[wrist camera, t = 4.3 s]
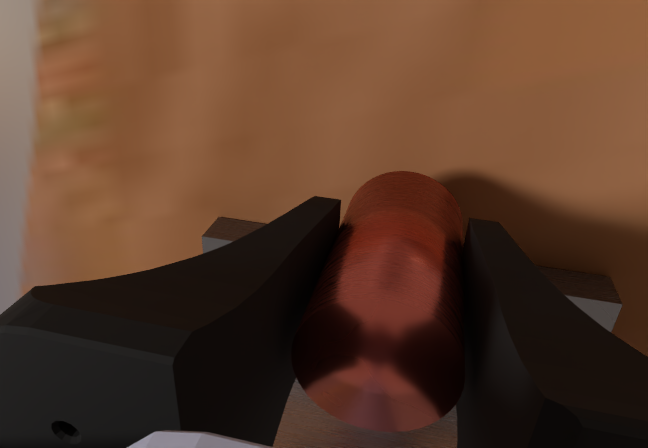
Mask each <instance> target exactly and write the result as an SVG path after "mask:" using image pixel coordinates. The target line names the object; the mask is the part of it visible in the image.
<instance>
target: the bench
mask: <svg viewBox="0 0 648 448" xmlns="http://www.w3.org/2000/svg"><path fill="white" fill-rule="evenodd" d="M265 225H267V224H262V223H255V222H249V221H242V220H236V219H229V218H223V217H218V218H217V220H216V221H215V222H214V223H213V224H212V225H211V226H210V228H209V229H208V230H207V231H206V232H205V233H204V234H203V236H202V244H203V254H204V253H206V252H209V251H212V250H214V249H217V248H219V247H222V246H224V245H226V244H229V243H231V242H233V241H235V240H238V239H239V238H241V237H243V236H245V235H247V234H249V233H251V232H253V231H255V230H257V229H259V228H261V227H263V226H265ZM536 267H537V268H538V269H539V270H540V271H541V272H542V273H543V274H544V275H545V276H546V278H547V279H548V280H549V281H550V282H551V283H553V284H554V285H555V286H556V287H557V288H558V289H559V290H560V291H561V292H562V293H563V294H564V295H565V296H566V297H567V298H568V299H569V300H571V301H572V302H573V303H574V304H575V305H576V306H577V307H579V308H580V309H581V310H582V311H584V312H585V313H586V314H587V315H589V316H590V317H591V318H592V319H594V320H595V321H596V322H597V323H599V324H600V325H601V326H603V327H604V328H605V329H607V330H608V331H609V332H611V331H612V329H613V327H614V324H615V322H616V319H617V317H618V314H619V312H620V310H621V307H622V305H623V304H622V302H621V300H620V298H619V295H618V293H617V291H616V289H615V287H614V284H613V282H612V280H611V278H610V277H606V276H599V275H593V274H586V273H580V272H573V271H567V270H560V269H554V268H547V267H541V266H536Z"/></svg>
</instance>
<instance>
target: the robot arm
mask: <svg viewBox="0 0 648 448" xmlns="http://www.w3.org/2000/svg"><path fill="white" fill-rule="evenodd" d="M340 207H341V200H338V199H331V198H324V197H317V196H314V197H312V198H310V199H309V200H307V201H305V202H304V203H302V204H300V205H299V206H297V207H295V208H294V209H292V210H290V211H289V212H287V213H285V214H284V215H282V216H280V217H279V218H277V219H275V220H274V221H272V222H270V223H268V224H267V225H265V226H263V227H261V228H259V229H257V230H255V231H253V232H251V233H249V234H247V235H245V236H243V237H241V238H239V239H238V240H235V241H233V242H231V243H229V244H226V245H224V246H222V247H219V248H217V249H214V250H212V251H209V252H206V253H204V254H201V255H198V256H195V257H192V258H189V259H186V260H182V261H179V262H175V263H172V264H168V265H165V266H161V267H158V268H154V269H150V270H146V271H141V272H136V273H132V274H127V275H121V276H116V277H110V278H104V279H98V280H91V281H82V282H73V283H65V284H56V285H47V286H35V287H34V288H32V289H31V290H30V291H29V292H28V293H26V294H25V295H24V296H23V297H21V298H20V299H19V300H18V301H17V302H15V303H14V304H13V305H12V306H11V307H9V308H8V309H7V310H6V311H4V312H3V313H2V314H1V315H0V448H274V447H273V444H274V441H275V437H276V434H277V431H278V428H279V425H280V421H281V418H282V415H283V412H284V409H285V406H286V402H287V400H288V397H289V394H290V392H291V389H292V387H293V384H294V382H295V379H296V376H295V373H294V371H293V366H292V361H291V349H292V343H293V340H294V337H295V334H296V332H297V329H298V327H299V325H300V322H301V320H302V317H303V315H304V313H305V310H306V308H307V305H308V303H309V300H310V298H311V296H312V293H313V291H314V288H315V286H316V284H317V281H318V279H319V276H320V274H321V272H322V269H323V267H324V264H325V262H326V259H327V257H328V255H329V252H330V250H331V247H332V245H333V243H334V240H335V238H336V235H337V233H338V231H339V222H340ZM463 284H464V349H465V382H464V388H463V391H462V394H461V397H460V398H459V400H458V402H457V404H456V412H457V448H648V357H647V356H645V355H644V354H642V353H641V352H639V351H638V350H636V349H634V348H633V347H631V346H630V345H628V344H627V343H625V342H624V341H622V340H621V339H619V338H618V337H616V336H615V335H614V334H612V333H611V332H609V331H608V330H607V329H605V328H604V327H603V326H601V325H600V324H599V323H597V322H596V321H595V320H594V319H592V318H591V317H590V316H589V315H587V314H586V313H585V312H584V311H582V310H581V309H580V308H579V307H577V306H576V305H575V304H574V303H573V302H572V301H571V300H569V299H568V298H567V297H566V296H565V295H564V294H563V293H562V292H561V291H560V290H559V289H558V288H557V287H556V286H555V285H554V284H553V283H551V282H550V281H549V280H548V279H547V278H546V276H545V275H544V274H543V273H542V272H541V271H540V270H539V269H538V268H537V267H536V266H535V265H534V264H533V263H532V261H531V260H530V259H529V258H528V257H527V256H526V255H525V253H524V252H523V251H522V250H521V249H520V248H519V246H518V245H517V244H516V243H515V241H514V240H513V239H512V238H511V237H510V235H509V234H508V233H507V232H506V230H505V229H504V228H503V227H502V226H501V224H500V223H499V222H493V221H486V220H479V219H472V218H469V223H468V227H467V232H466V237H465V242H464V247H463Z"/></svg>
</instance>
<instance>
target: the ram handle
mask: <svg viewBox="0 0 648 448" xmlns="http://www.w3.org/2000/svg"><path fill="white" fill-rule="evenodd" d="M291 361H292V366H293V371H294V373H295V376H296V379H295V382H294V384H293V387H292V389H291V392H290V394H289V397H288V400H287V402H286V406H285V409H284V412H283V415H282V418H281V421H280V425H279V428H278V431H277V434H276V437H275V441H274V444H273V447H274V448H457V412H456V404H457V402H458V400H459V398H460V397H461V394H462V391H463V388H464V382H465V349H464V284H463V222H462V215H461V211H460V208H459V205H458V204H457V202H456V200H455V198H454V197H453V195H452V194H451V193H450V192H449V191H448V190H447V189H446V188H445V187H444V186H443V185H442V184H440V183H439V182H437V181H436V180H434V179H432V178H430V177H428V176H425V175H422V174H419V173H414V172H407V171H397V172H389V173H385V174H382V175H379V176H377V177H375V178H372V179H371V180H369V181H368V182H366V183H365V184H364V185H363V186H361V187H360V188H359V190H358V191H357V192H356V193H355V195H354V196H353V198H352V200H351V202H350V204H349V206H348V209H347V211H346V214H345V216H344V218H343V221H342V223H341V226H340V228H339V231H338V233H337V235H336V238H335V240H334V243H333V245H332V247H331V250H330V252H329V255H328V257H327V259H326V262H325V264H324V267H323V269H322V272H321V274H320V276H319V279H318V281H317V284H316V286H315V288H314V291H313V293H312V296H311V298H310V300H309V303H308V305H307V308H306V310H305V313H304V315H303V317H302V320H301V322H300V325H299V327H298V329H297V332H296V334H295V337H294V340H293V343H292V349H291Z"/></svg>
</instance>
